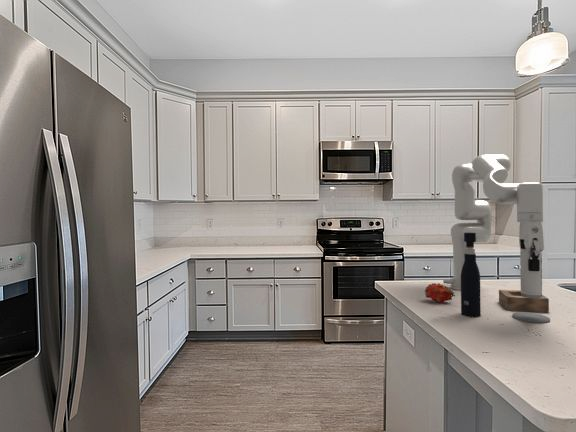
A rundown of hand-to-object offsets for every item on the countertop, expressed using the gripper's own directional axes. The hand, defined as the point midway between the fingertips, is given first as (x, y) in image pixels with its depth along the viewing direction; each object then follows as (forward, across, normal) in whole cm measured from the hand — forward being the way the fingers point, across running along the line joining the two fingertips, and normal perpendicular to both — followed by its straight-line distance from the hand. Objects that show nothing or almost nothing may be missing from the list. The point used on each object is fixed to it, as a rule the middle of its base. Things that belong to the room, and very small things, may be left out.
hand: (530, 268), depth 127 cm
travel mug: (+10, 0, 0) cm, 10 cm away
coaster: (+17, 0, 0) cm, 17 cm away
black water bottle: (+18, 0, +19) cm, 26 cm away
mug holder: (+17, +16, -2) cm, 24 cm away
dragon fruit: (+18, +17, +28) cm, 37 cm away
